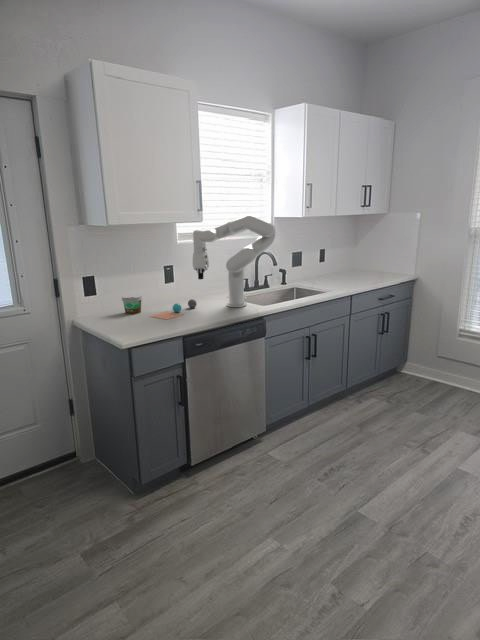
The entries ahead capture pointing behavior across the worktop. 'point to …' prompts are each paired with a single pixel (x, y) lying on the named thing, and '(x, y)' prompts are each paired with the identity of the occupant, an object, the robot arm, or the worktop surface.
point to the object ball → (176, 308)
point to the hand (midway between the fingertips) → (200, 279)
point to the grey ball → (192, 303)
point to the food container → (132, 305)
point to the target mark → (166, 315)
